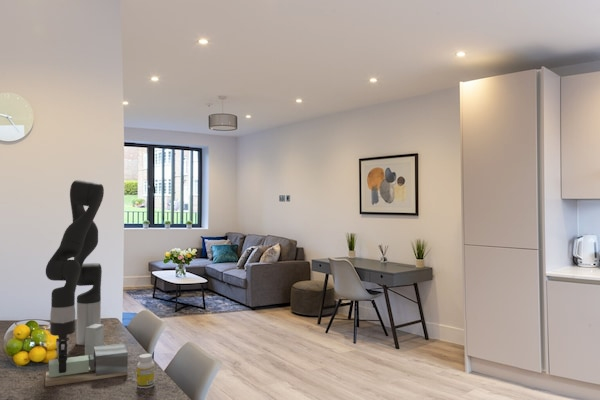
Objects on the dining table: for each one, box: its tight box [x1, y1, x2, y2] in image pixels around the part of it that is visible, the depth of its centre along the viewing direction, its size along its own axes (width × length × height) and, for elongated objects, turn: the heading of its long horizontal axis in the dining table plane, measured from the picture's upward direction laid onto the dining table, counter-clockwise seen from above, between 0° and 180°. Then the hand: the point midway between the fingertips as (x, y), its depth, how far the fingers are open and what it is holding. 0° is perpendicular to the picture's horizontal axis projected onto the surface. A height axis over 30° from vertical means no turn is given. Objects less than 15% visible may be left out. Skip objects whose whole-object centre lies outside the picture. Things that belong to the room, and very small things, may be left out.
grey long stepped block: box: [44, 342, 129, 388], centre depth 163 cm, size 12×25×8 cm, turn 117°
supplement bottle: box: [136, 353, 156, 389], centre depth 154 cm, size 5×5×10 cm
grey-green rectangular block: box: [48, 354, 94, 377], centre depth 161 cm, size 6×14×4 cm, turn 117°
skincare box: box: [84, 323, 105, 361], centre depth 182 cm, size 6×4×12 cm
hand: (62, 369), depth 160 cm, fingers closed on grey-green rectangular block, 5 cm apart
